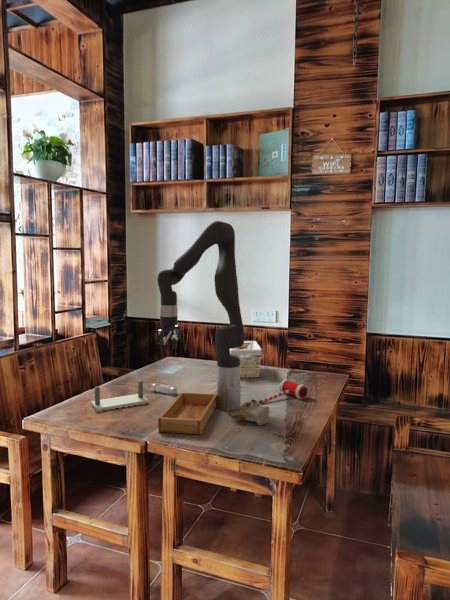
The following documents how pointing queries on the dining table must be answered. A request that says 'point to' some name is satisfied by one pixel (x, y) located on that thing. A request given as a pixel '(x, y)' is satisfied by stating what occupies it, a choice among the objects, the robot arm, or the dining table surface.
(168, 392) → the grey dumbbell
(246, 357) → the storage basket
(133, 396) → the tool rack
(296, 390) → the toy hammer
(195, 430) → the tray
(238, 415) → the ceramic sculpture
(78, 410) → the dining table surface
